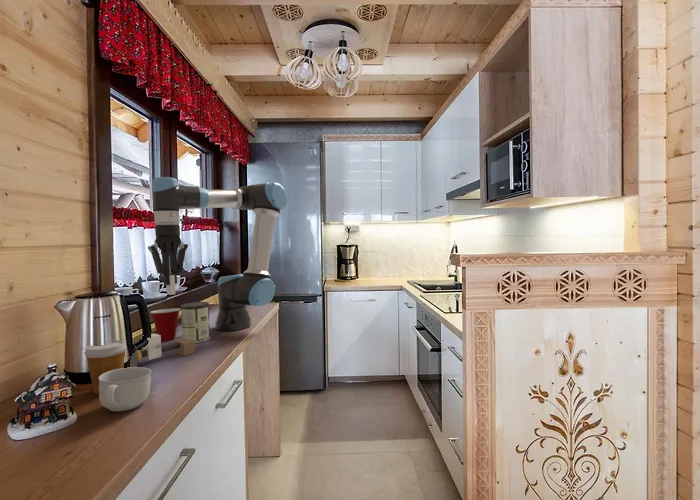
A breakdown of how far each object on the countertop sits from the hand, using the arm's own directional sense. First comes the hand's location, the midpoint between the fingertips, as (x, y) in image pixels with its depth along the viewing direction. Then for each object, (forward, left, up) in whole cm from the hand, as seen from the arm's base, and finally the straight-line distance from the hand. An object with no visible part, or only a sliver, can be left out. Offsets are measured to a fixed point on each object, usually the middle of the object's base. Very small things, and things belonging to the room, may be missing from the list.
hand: (171, 294), depth 128 cm
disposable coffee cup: (+25, +13, -21) cm, 36 cm away
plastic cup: (-10, -23, -21) cm, 33 cm away
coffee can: (-16, -12, -21) cm, 29 cm away
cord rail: (+5, 0, -21) cm, 22 cm away
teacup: (+28, +29, -21) cm, 46 cm away
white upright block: (+7, 0, -20) cm, 21 cm away
